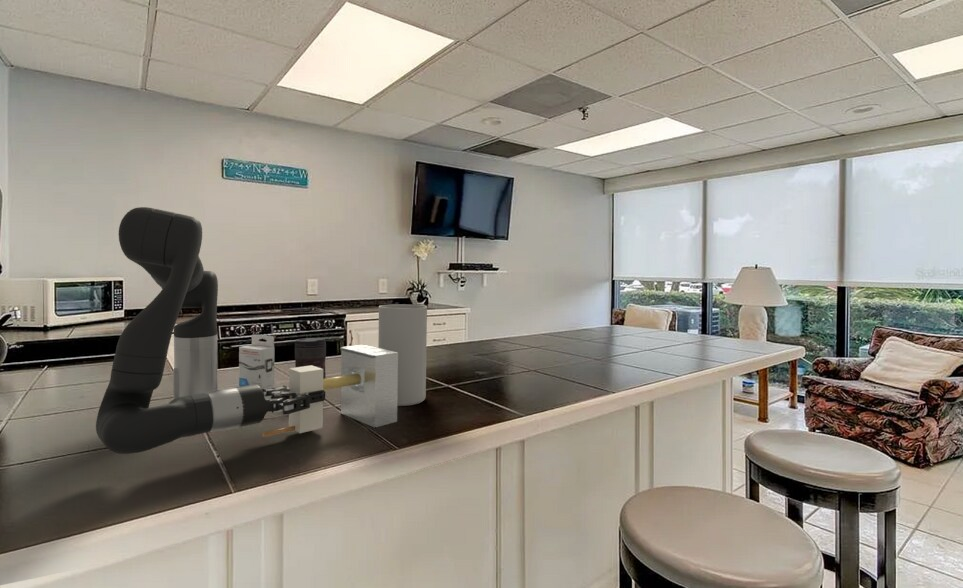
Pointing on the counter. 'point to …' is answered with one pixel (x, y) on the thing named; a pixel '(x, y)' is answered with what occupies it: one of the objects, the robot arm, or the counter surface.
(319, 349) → the dark lidded canister
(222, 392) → the robot arm
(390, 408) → the block
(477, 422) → the counter surface
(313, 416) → the plug
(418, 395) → the cylinder vase
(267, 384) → the ink box
